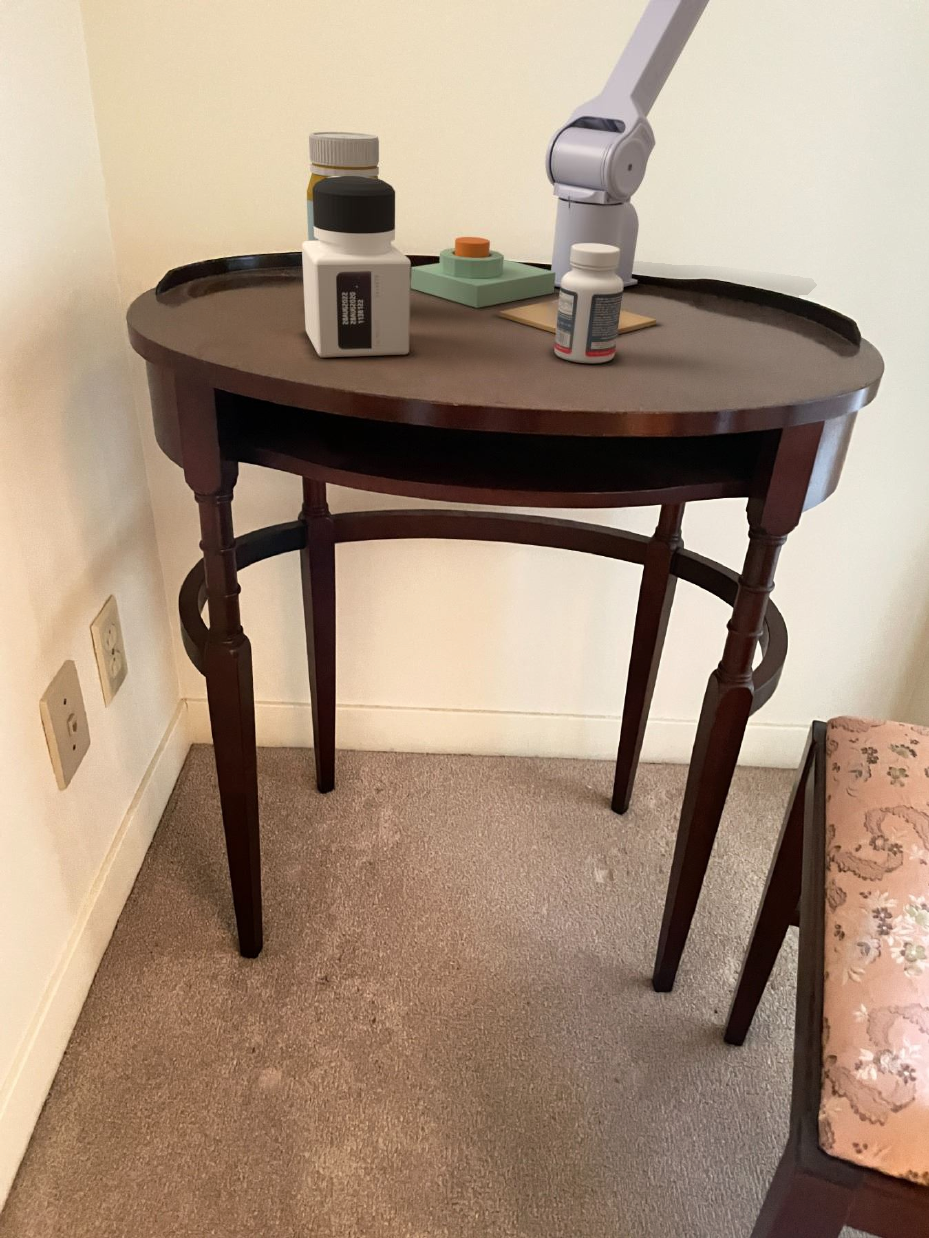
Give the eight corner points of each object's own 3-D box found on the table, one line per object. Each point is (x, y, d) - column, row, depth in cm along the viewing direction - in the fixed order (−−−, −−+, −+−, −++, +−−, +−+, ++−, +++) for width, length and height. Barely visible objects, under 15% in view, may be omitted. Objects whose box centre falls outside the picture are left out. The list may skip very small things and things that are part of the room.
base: (488, 275, 103) (490, 238, 101) (553, 293, 98) (557, 254, 95) (410, 288, 96) (411, 249, 94) (477, 308, 90) (479, 266, 88)
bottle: (371, 321, 84) (370, 141, 76) (301, 313, 85) (292, 135, 77) (391, 304, 90) (392, 135, 82) (325, 297, 91) (319, 130, 83)
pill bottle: (619, 352, 79) (634, 246, 75) (607, 368, 75) (622, 256, 70) (561, 344, 81) (572, 239, 76) (546, 359, 77) (557, 248, 72)
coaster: (569, 301, 95) (570, 296, 94) (655, 324, 88) (656, 319, 88) (498, 316, 88) (499, 311, 88) (586, 342, 82) (586, 337, 81)
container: (410, 355, 75) (413, 186, 68) (318, 359, 73) (311, 184, 66) (390, 331, 82) (391, 172, 75) (305, 333, 80) (297, 171, 73)
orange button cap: (471, 253, 96) (472, 235, 95) (495, 259, 94) (497, 241, 93) (447, 256, 94) (448, 238, 93) (471, 262, 92) (472, 244, 91)
